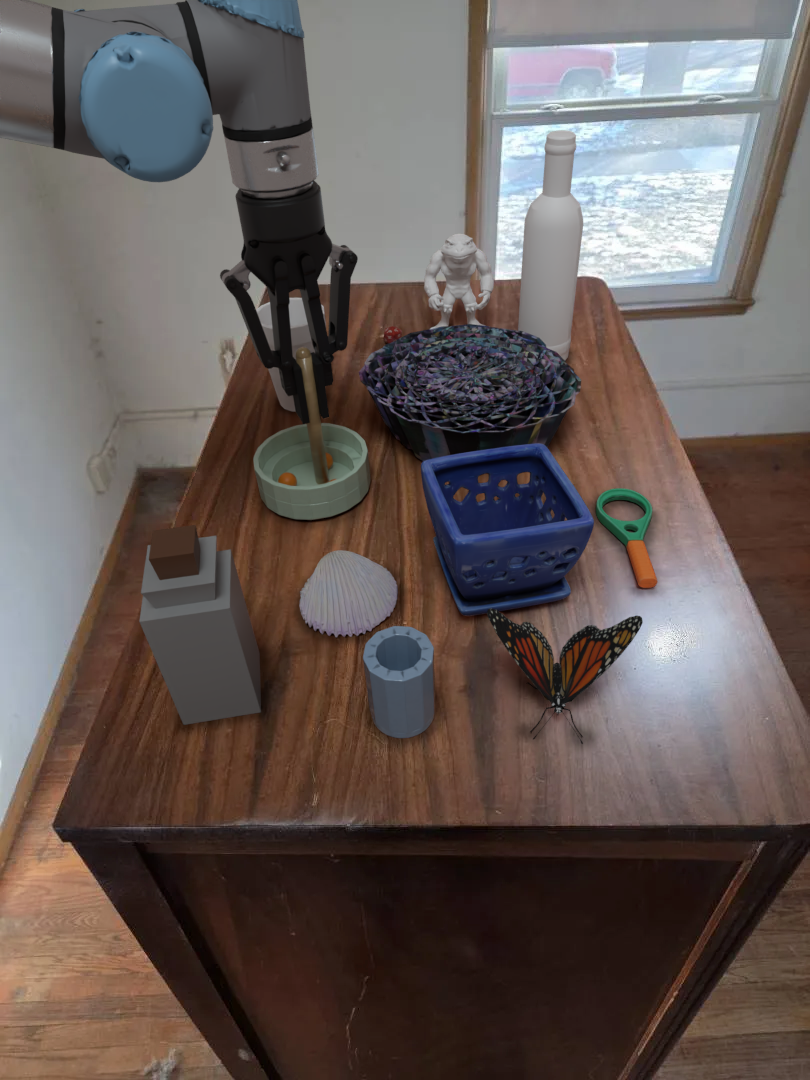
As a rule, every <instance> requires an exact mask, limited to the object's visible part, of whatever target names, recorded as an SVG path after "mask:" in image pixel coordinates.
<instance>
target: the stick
mask: <svg viewBox="0 0 810 1080" xmlns="http://www.w3.org/2000/svg"><path fill="white" fill-rule="evenodd" d="M295 355H296V362H297V364H299V366H300V367H301V369H302V375H303V382H304V388H305V394H306V401H307V407H308V413H309V420H310V423H307V430H308V436H309V442H310V449H311V455H312V461H313V467H314V473H315V479H316V483H317V484H318V485H319V484H325V483H328V482H329V473H328V467H327V460H326V453H325V446H324V439H323V432H322V426H321V423H322V420H321V419H322V418H321V415H320V412H319V405H318V398H317V392H316V385H315V378H314V371H313V364H312V357H311V352H310V350H309V349H308V348H306V347H300V348H298V349H297V351H296V354H295Z"/></svg>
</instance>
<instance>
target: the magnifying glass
mask: <svg viewBox="0 0 810 1080" xmlns="http://www.w3.org/2000/svg"><path fill="white" fill-rule="evenodd" d="M619 500H620V501H628V502H631V503H634V504H636V505H637V506H640V507H641V508H642V510H643V511H644V515H643V516H642V517H640V518H638V519H633V520H622V519H618V518H614V517H612V516H611V515H609V514H607V513H606V511H604V508H603V507H604V506H605V505H606V504H607V503H610V502H613V501H619ZM595 503H596V504H595V516H596V518H597V520H598V521H599V522H600V523H601V524H602V525H603V527H605V528H606V529H607V530H608V531H609V532H610V533H612V535H613V536H615V538H617V539H618V540H619V541H620V542H621V543H622V544H623V545H624V546H625V548H626V551H627V555H628V557H629V560H630V563H631V566H632V570H633V573H634V575H635V579H636V582H637V585H638V586H639V587H640V588H643V589H649V588H654V587H655V586H657V584H658V583H659V582H658V578H657V574H656V572H655V569H654V567H653V564H652V560H651V558H650V555H649V553H648V550H647V546H646V543H645V541H644V538H645V535H646V534H647V532H648V530H649V527H650V524H651V522H652V521H651V520H652V516H653V506H652V503H651V502H650V501H649V499H648V498H647V497H646V496H644V495H643V494H641V493H640V492H637V491H635V490H634V489H630V488H625V487H624V488H621V487H619V488H616V487H615V488H609V489H607V490H605V491H604V492H602V493H600V494H599V496H598V498H597V500H596V502H595ZM628 530H630V531H628ZM631 530H632V531H633V532H631Z"/></svg>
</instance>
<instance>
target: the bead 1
mask: <svg viewBox="0 0 810 1080" xmlns="http://www.w3.org/2000/svg"><path fill="white" fill-rule="evenodd" d="M278 483H282V484H286V485H290V486H296V485H297V479H296V477H295V476H294V475H293V474H292V473H288V472H286V473H283V474H282V475H281V476H280V477H279V479H278Z"/></svg>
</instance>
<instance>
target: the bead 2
mask: <svg viewBox="0 0 810 1080" xmlns="http://www.w3.org/2000/svg"><path fill="white" fill-rule="evenodd" d="M325 453H326V452H325ZM326 460H327V467H328V469H330V468H331V466H332V465H333V458H332V456H331V455H330V454H329V453H326Z"/></svg>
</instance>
